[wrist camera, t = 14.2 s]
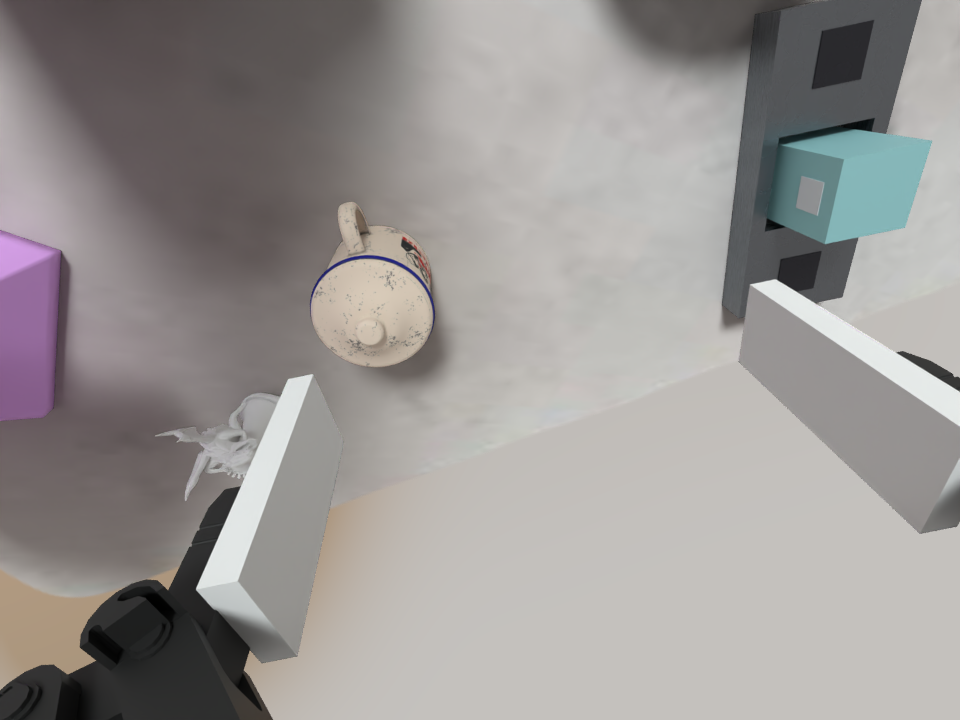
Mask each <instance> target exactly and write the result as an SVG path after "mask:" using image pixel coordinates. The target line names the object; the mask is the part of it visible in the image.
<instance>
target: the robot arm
mask: <svg viewBox="0 0 960 720" xmlns="http://www.w3.org/2000/svg"><path fill="white" fill-rule="evenodd" d="M739 363H740V364H741V365H742V366H743V367H744V368H746V369H747V370H748V371H749V372H750V373H751V374H752V375H753V376H754V377H755V378H756V379H757V380H758V381H759V382H760V383H761V384H762V385H763V386H765V387H766V388H767V389H768V390H769V391H770V392H771V393H772V394H773V395H774V396H775V397H776V398H777V399H778V400H779V401H780V402H781V403H782V404H783V405H785V406H786V407H787V408H788V409H789V410H790V411H791V412H792V413H793V414H794V415H795V416H796V417H797V418H798V419H799V420H800V421H801V422H803V423H804V424H805V425H806V426H807V427H808V428H809V429H810V430H811V431H812V432H813V433H814V434H815V435H816V436H817V437H818V438H819V439H820V440H822V442H824V443H825V444H826V445H827V446H828V447H829V448H830V449H831V450H832V451H833V452H834V453H835V454H836V455H837V456H838V457H840V459H841V460H843V461H844V462H845V463H846V464H847V465H848V466H849V467H850V468H851V469H852V470H853V471H854V472H855V473H856V474H857V475H858V476H860V477H861V479H863V480H864V481H865V482H866V483H867V484H868V485H869V486H870V487H871V488H872V489H873V490H874V491H875V492H876V493H877V494H878V495H879V496H881V497H882V498H883V499H884V500H885V501H886V502H887V503H888V504H889V505H890V506H891V507H892V508H893V509H894V510H895V511H896V512H897V513H898V514H900V516H902V517H903V518H904V519H905V520H906V521H907V522H908V523H909V524H910V525H911V526H912V527H913V528H914V529H915V530H917V532H918V533H920V534H922V533H926V532H931V531H937V530H941V529H947V528H952V527H957V525H958V524H959V522H960V378H959V377H954V376H953V374H952V373H950V372H949V371H947V370H945V369H944V368H942V367H940V366H938V365H937V364H935V363H933V362H931V361H929V360H927V359H923V358H921V357H918V356H915V355H912V354H909V353H906V352H903V351H902V352H897V353H896V352H894V351H892V350H891V349H889V348H887V347H886V346H884V345H882V344H881V343H879V342H878V341H876V340H874V339H873V338H871V337H869V336H868V335H866V334H864V333H863V332H861V331H860V330H858V329H856V328H855V327H853V326H851V325H850V324H848V323H846V322H845V321H843V320H842V319H840V318H838V317H837V316H835V315H833V314H832V313H830V312H828V311H827V310H825V309H824V308H822V307H820V306H819V305H817V304H815V303H814V302H812V301H810V300H809V299H807V298H806V297H804V296H802V295H801V294H799V293H797V292H796V291H794V290H792V289H791V288H789V287H788V286H786V285H784V284H783V283H781V282H779V281H778V280H776V279H774V280H770V281H765V282H760V283H755V284H750V287H749V294H748V301H747V308H746V315H745V321H744V328H743V335H742V342H741V349H740V356H739ZM343 445H344V440H343V438H342V436H341V434H340V432H339V429H338V427H337V425H336V423H335V421H334V418H333V416H332V414H331V412H330V410H329V407H328V405H327V403H326V401H325V399H324V396H323V394H322V392H321V390H320V388H319V385H318V383H317V381H316V379H315V377H314V374H311V375H306V376H301V377H296V378H291V379H288V381H287V383H286V385H285V388H284V390H283V392H282V394H281V397H280V399H279V401H278V403H277V406H276V408H275V410H274V413H273V415H272V417H271V419H270V422H269V424H268V426H267V429H266V431H265V433H264V435H263V438H262V440H261V442H260V444H259V447H258V449H257V451H256V454H255V456H254V458H253V460H252V463H251V465H250V467H249V469H248V472H247V474H246V476H245V479H244V481H243V483H242V485H241V486H240V487H235V488H230V489H225V490H224V491H223V492H222V494H221V495H220V496H219V497H218V498H217V499H216V500H215V501H214V503H213V504H212V505H211V506H210V507H209V508H208V510H207V512H206V514H205V517H204V519H203V521H202V523H201V525H200V527H199V528H200V530H199V531H197V533H196V535H195V537H194V539H193V541H192V547H189V549H188V551H187V553H186V555H185V557H184V559H183V561H182V563H181V565H180V567H179V569H178V572H177V574H176V576H175V578H174V580H173V582H172V584H171V586H170V588H169V590H167V589H166V588H165V587H164V586H163V585H162V584H161V583H160V582H158V581H157V580H143V581H140V582H136V583H133V584H130V585H129V586H127V587H125V588H123V589H122V590H120V591H118V592H116V593H115V594H114V595H113V596H111V597H110V598H109V599H108V600H107V601H105V602H104V603H103V604H102V605H101V606H100V607H99V608H98V609H97V610H96V612H95V613H94V614H93V615H92V617H90V619H89V620H88V622H87V624H86V626H85V628H84V630H83V632H82V634H81V639H80V648H81V649H82V650H84V651H85V652H86V653H87V654H89V655H90V656H91V657H93V658H94V659H95V660H96V661H95V662H93V663H91V664H89V665H87V666H85V667H83V668H81V669H79V670H77V671H75V672H73V673H70V674H68V675H67V674H66V673H64V672H63V671H62V670H60V669H59V668H57V667H56V666H55V665H41V666H38V667H36V668H33V669H31V670H29V671H26V672H24V673H23V674H21V675H20V676H18V677H17V678H15V679H14V680H12V681H11V682H9V683H8V684H7V685H6V686H5V687H3V689H1V690H0V720H273V719H272V717H271V715H270V713H269V712H268V710H267V708H266V706H265V704H264V702H263V700H262V698H261V697H260V695H259V693H258V691H257V689H256V687H255V686H254V684H253V682H252V680H251V678H250V676H248V674H247V673H246V672H245V671H244V667H245V664H246V660H247V657H248V654H249V651H251V652H252V653H253V654H254V655H255V656H256V658H257V659H258V660H259V661H260V662H261V663H266V662H271V661H277V660H282V659H287V658H291V657H297V656H298V651H299V646H300V642H301V638H302V633H303V628H304V624H305V619H306V615H307V610H308V605H309V600H310V596H311V592H312V587H313V582H314V578H315V573H316V568H317V564H318V559H319V555H320V550H321V546H322V541H323V537H324V531H325V527H326V522H327V518H328V513H329V509H330V504H331V500H332V495H333V491H334V486H335V481H336V477H337V472H338V468H339V463H340V459H341V454H342V449H343Z"/></svg>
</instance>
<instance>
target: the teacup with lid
mask: <svg viewBox="0 0 960 720" xmlns="http://www.w3.org/2000/svg"><path fill="white" fill-rule="evenodd" d="M338 222H339V227H340V231H341V235H342V238H343V241H342V242H341V243H340V245H339V246H338V248H337V249H336V252H335V254H334V256H333V258H332V260H331V262H330V264H329V266H328V268H327V270H326V271H325V272H324V273H323V274H322V275H321V277H320V278H319V279H318V281H317V283H316V284H315V286H314V289H313V291H312V295H311V300H310V314H311V319H312V323H313V326H314V328H315V331H316V332H317V334H318V336H319V338H320V339H321V341H322V342H323V343H324V344H325V345H326V346H327V347H328V348H329V349H330V350H331V351H332V352H333V353H335V354H336V355H337V356H339V357H340V358H342V359H344V360H346V361H348V362H351V363H353V364H357V365H360V366H366V367H386V366H391V365H395V364H398V363H401V362H403V361H405V360H407V359H409V358H410V357H412V356H413V355H414V354H416V353H417V352H418V351H419V350H420V349H421V348H422V346H423V345H424V344H425V343H426V341H427V340H428V338H429V336H430V334H431V332H432V329H433V325H434V319H435V310H434V303H433V300H432V297H431V272H430V265H429V262H428V259H427V256H426V254H425V253H424V251H423V249H422V248H421V246H420V245H419V244H418V243H417V242H416V241H415V240H414V239H413V238H412V237H410V236H409V235H407V234H406V233H404V232H402V231H400V230H398V229H395V228H392V227H387V226H368V223H367V221H366V218H365V216H364V214H363V212H362V210H361V208H360V207H359V206H358V205H357V204H356V203H354V202H347V203H343V204H341V205H340V207H339V209H338Z"/></svg>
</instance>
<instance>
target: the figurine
mask: <svg viewBox="0 0 960 720" xmlns="http://www.w3.org/2000/svg"><path fill="white" fill-rule="evenodd" d="M279 399H280V397H279V396H276V395H271V394H267V393H255V394H252V395H249V396H248V397H246V398H245V399H244V400H243V401H242V403H241V405H240V407H239V408H238V409H237V410H236V411H235V412H233V413H232V414H231V415H230V418H229V426H227V425H225V424H220V425H219V426H217V427H215V428H207V431H204V432H201V433H202V434H199V433H198V432H197V430H196V426H194V427H189V428H181V429H177V430H172V431H168V432H165V433H162V434H158V435H155V437H156V436H169V435H175V436H176V437H178V438H179V440H178V441H176V443H177V442H180V441H182V442H187V443H190V442H199V443H200V444H201V446H202V447H203V448H204V452H203V451H201V452H200V453H199V454H198V456H197V459H196V462H195V465H194V468H193V471H192V474H191V476H190V478H189V480H188V482H187V486H186V490H185V501H187V498H188V496H189V494H190V491H191V490H192V489H193V488H194V487H195V486H196V484H197V483H198V480H199V477H200V474H201V472H202V471H203V469H204V472H205V473H208V474H211V473H217V472H227V471H228V472H227V474H228V475H230V474H231V473H233V474H232V476H231V477H233V478H234V477H235V475H238V477H237V479H241V476H243V479H245V476H246V474H247V472H248V469H249V467H250V465H251V463H252V460H253V458H254V456H255V454H256V451H257V449H258V447H259V444H260V442H261V440H262V438H263V435H264V433H265V431H266V429H267V426H268V424H269V422H270V419H271V417H272V415H273V413H274V410H275V408H276V406H277V403H278V401H279ZM238 414H240V417H241V419H242V421H243V428H242V427H241V426H240V424H239V423H238V422H237V416H238ZM208 460H209V461H208ZM219 463H222V467H221V468H219V469H212V468H214V467H215V466H217V465H218V464H219Z"/></svg>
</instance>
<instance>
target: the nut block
mask: <svg viewBox="0 0 960 720" xmlns="http://www.w3.org/2000/svg"><path fill="white" fill-rule="evenodd" d="M931 143H932V141H930V140H923V139H917V138H910V137H903V136H896V135H890V134H883V133H876V132H869V131H863V130H856V129H849V128H842V127H836V126H834V127H829V128H825V129H820V130H815V131H810V132H806V133H801V134H796V135H791V136H787V137H782V138H779V142H778V149H777V155H776V162H775V168H774V175H773V181H772V188H771V194H770V201H769V207H768V213H767V218H768V219H770V220H772V221H774V222H777V223H779V224H781V225H783V226H785V227H788V228H790V229H792V230H794V231H797V232H799V233H801V234H803V235H806V236H808V237H810V238H812V239H815V240H817V241H819V242H821V243H823V244H828V243H833V242H838V241H843V240H847V239H852V238H857V237H862V236H867V235H872V234H876V233H881V232H886V231H891V230H896V229H901V228H905V226H906V223H907V219H908V216H909V213H910V210H911V207H912V204H913V200H914V197H915V194H916V191H917V188H918V185H919V181H920V178H921V175H922V172H923V169H924V166H925V162H926V159H927V156H928V153H929V150H930V146H931Z"/></svg>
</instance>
